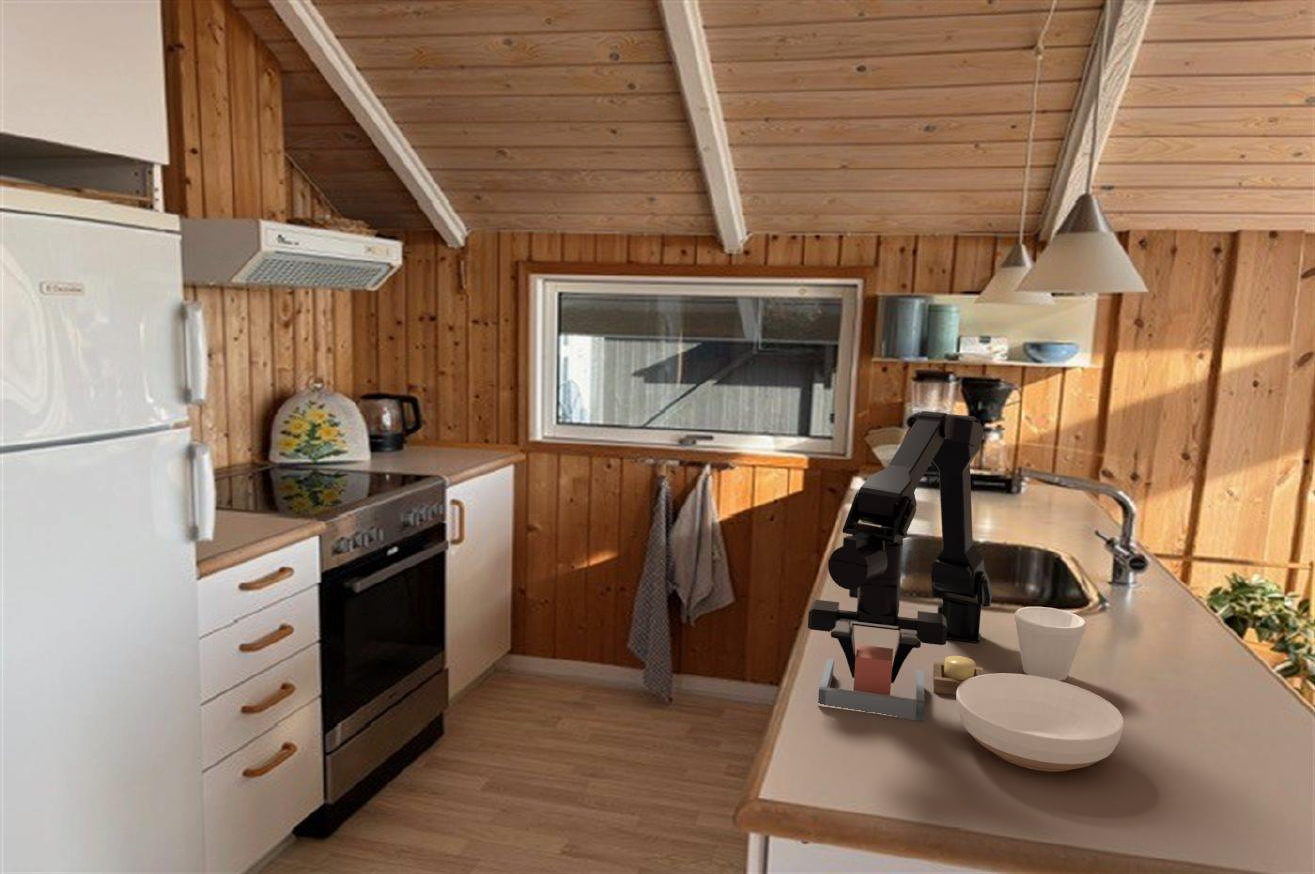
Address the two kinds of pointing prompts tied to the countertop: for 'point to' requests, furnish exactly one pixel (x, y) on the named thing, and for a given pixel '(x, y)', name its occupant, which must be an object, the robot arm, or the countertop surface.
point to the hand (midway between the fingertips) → (873, 679)
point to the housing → (948, 679)
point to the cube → (873, 669)
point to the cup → (1048, 640)
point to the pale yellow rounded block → (959, 668)
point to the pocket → (872, 698)
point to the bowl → (1038, 721)
